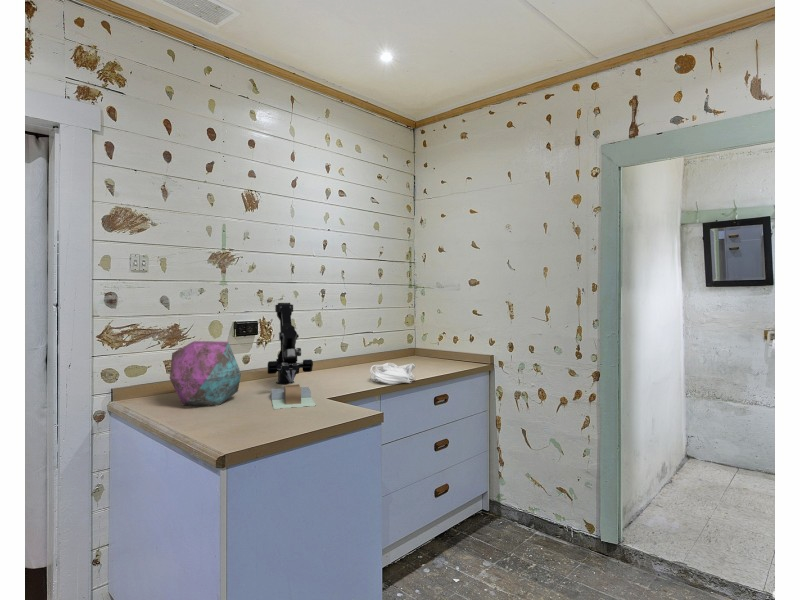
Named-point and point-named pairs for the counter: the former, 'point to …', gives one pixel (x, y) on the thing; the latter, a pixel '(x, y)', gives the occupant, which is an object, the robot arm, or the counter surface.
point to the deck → (279, 393)
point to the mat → (281, 404)
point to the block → (292, 394)
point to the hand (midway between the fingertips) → (291, 383)
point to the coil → (393, 373)
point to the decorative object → (205, 373)
